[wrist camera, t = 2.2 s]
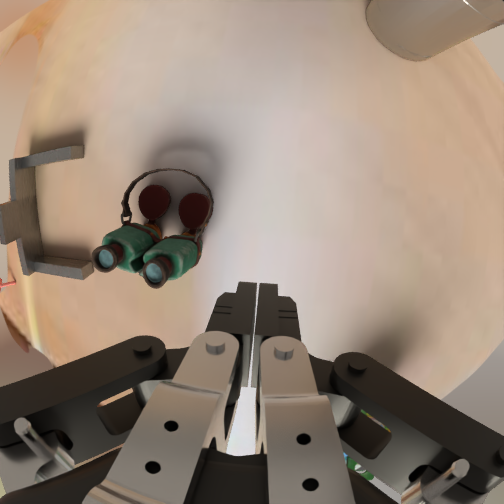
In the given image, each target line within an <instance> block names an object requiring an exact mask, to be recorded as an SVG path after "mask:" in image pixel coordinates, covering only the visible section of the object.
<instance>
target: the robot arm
mask: <svg viewBox="0 0 504 504" xmlns="http://www.w3.org/2000/svg"><path fill="white" fill-rule="evenodd" d="M366 19H367V22H368V25H369V27H370V29H371V31H372V32H373V34H374V35H375V36H376V38H377V39H378V40H379V41H380V42H381V43H382V44H383V45H384V46H385V47H386V48H388V49H389V50H390V51H392V52H393V53H395V54H397V55H398V56H400V57H403V58H405V59H408V60H412V61H424V60H427V59H429V58H431V57H433V56H435V55H437V54H439V53H441V52H443V51H445V50H447V49H449V48H451V47H453V46H455V45H457V44H459V43H461V42H463V41H465V40H467V39H470V38H472V37H474V36H476V35H478V34H481V33H483V32H485V31H487V30H490V29H492V28H495V27H497V26H500V25H502V24H504V0H372V1H371V2H370V4H369V5H368V7H367V10H366ZM256 292H257V283H253V282H239V283H238V287H237V291H236V293H228V292H225V293H223V294H222V295H221V296H220V297H218V298H217V301H216V304H215V307H214V309H213V313H212V314H211V317H210V320H209V323H208V325H207V328H206V331H205V333H202V334H200V335H198V336H197V337H196V338H195V339H194V340H193V342H192V344H191V346H190V347H186V348H180V349H166V348H165V344H164V343H163V342H162V341H161V340H160V339H158V338H156V337H153V336H147V335H145V336H137V337H134V338H131V339H128V340H126V341H123V342H121V343H119V344H116V345H114V346H111V347H109V348H106V349H103V350H101V351H98V352H96V353H93V354H91V355H88V356H86V357H83V358H80V359H78V360H75V361H73V362H70V363H67V364H65V365H62V366H59V367H57V368H54V369H51V370H49V371H46V372H43V373H40V374H37V375H35V376H32V377H29V378H26V379H23V380H20V381H18V382H15V383H12V384H9V385H6V386H3V387H0V477H1V479H2V483H3V486H4V489H5V491H6V494H5V495H4V496H2V498H0V504H398V503H397V502H396V501H394V500H393V499H392V498H390V497H389V496H387V495H386V494H385V493H384V492H382V491H381V490H380V489H378V488H377V487H376V486H374V485H373V484H372V483H370V482H369V481H368V480H367V479H366V478H364V477H363V476H362V475H360V474H359V473H357V472H356V471H354V470H352V469H350V468H348V467H347V466H346V462H345V458H344V454H343V452H344V453H345V454H346V455H348V456H349V457H350V458H351V459H353V460H354V461H355V462H356V463H358V464H359V465H360V466H362V467H363V468H364V469H366V470H367V471H368V472H370V473H371V474H372V475H374V476H375V477H376V478H378V479H379V480H381V481H382V482H383V483H385V484H386V485H388V486H389V487H391V488H392V489H393V490H395V491H396V492H398V493H399V494H401V495H402V497H401V504H483V502H484V501H485V499H486V497H487V495H488V493H489V492H490V491H491V490H492V489H493V488H495V487H496V486H497V485H498V484H500V483H501V482H502V481H504V436H502V435H501V434H499V433H497V432H495V431H494V430H492V429H490V428H488V427H486V426H485V425H483V424H481V423H479V422H477V421H476V420H474V419H472V418H470V417H468V416H467V415H465V414H463V413H462V412H460V411H458V410H457V409H455V408H453V407H451V406H450V405H448V404H446V403H445V402H443V401H441V400H440V399H438V398H436V397H434V396H433V395H431V394H429V393H428V392H426V391H424V390H423V389H421V388H419V387H418V386H416V385H414V384H413V383H411V382H410V381H408V380H406V379H405V378H403V377H401V376H400V375H398V374H396V373H395V372H393V371H392V370H390V369H388V368H387V367H385V366H384V365H382V364H380V363H379V362H377V361H376V360H374V359H372V358H371V357H369V356H367V355H365V354H362V353H357V352H348V353H344V354H341V355H339V356H338V357H337V358H336V359H335V361H334V362H331V361H327V360H322V359H319V358H316V357H314V356H312V355H310V354H309V353H308V351H307V348H306V346H305V345H304V344H303V343H302V342H301V335H300V328H299V321H298V314H297V307H296V303H295V302H294V301H293V300H292V299H291V297H286V296H278V284H268V283H260V285H259V295H258V305H257V315H256V325H255V334H254V323H255V308H256ZM253 334H254V349H253V365H252V379H251V387H254V388H257V389H256V401H255V444H256V450H255V454H254V455H246V456H233V455H229V454H226V450H227V445H228V441H229V437H230V433H231V429H232V425H233V421H234V417H235V413H236V409H237V405H238V398H239V396H240V390H241V387H247V386H248V378H249V369H250V360H251V351H252V343H253ZM130 388H132V389H133V393H130V394H128V395H126V396H124V397H122V398H120V399H118V400H115V401H113V402H111V403H109V404H107V405H104V406H102V407H97V405H98V404H99V403H100V402H102V401H104V400H106V399H108V398H110V397H113V396H115V395H117V394H119V393H121V392H124V391H126V390H128V389H130ZM361 410H363V411H365V412H366V413H368V414H369V415H370V416H372V417H373V418H375V419H376V420H377V421H379V422H380V423H382V424H383V425H385V426H386V427H387V428H388V429H389V430H390V432H389V431H388V430H386V429H385V428H383V427H382V426H381V425H379V424H378V423H376V422H375V421H373V420H372V419H371V418H369V417H368V416H367V415H365V414H364V413H362V412H361ZM123 443H124V445H123V447H121V448H118V449H116V450H113V451H111V452H109V453H107V454H105V455H103V456H101V457H99V458H96V459H94V460H93V461H91V462H88V463H86V464H84V465H81V466H79V467H77V468H75V469H74V465H76V464H78V463H80V462H83V461H85V460H88V459H90V458H92V457H95V456H97V455H99V454H101V453H104V452H106V451H108V450H110V449H112V448H114V447H116V446H119V445H121V444H123Z"/></svg>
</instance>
